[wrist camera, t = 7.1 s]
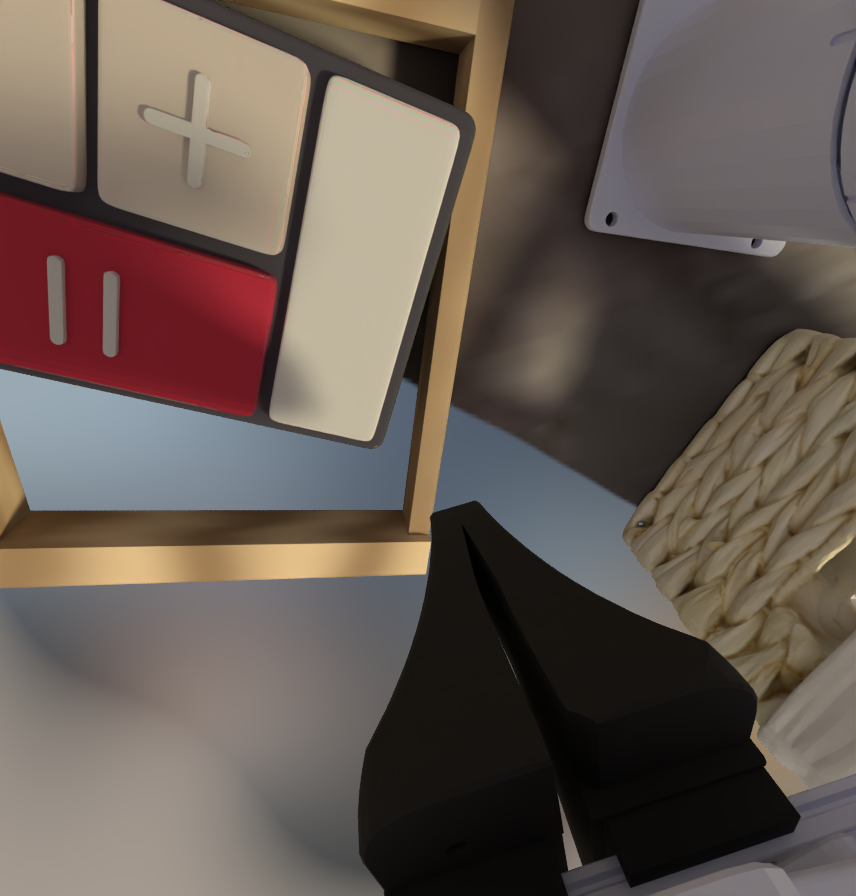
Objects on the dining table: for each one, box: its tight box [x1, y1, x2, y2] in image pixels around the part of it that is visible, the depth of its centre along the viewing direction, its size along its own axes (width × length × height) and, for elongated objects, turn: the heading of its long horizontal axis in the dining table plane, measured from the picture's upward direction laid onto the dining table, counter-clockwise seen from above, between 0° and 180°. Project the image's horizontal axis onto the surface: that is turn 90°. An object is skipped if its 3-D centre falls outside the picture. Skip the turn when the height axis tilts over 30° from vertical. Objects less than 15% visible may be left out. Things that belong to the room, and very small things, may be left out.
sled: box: [0, 0, 515, 588], centre depth 16 cm, size 18×21×2 cm
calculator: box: [0, 0, 476, 449], centre depth 14 cm, size 11×4×15 cm
